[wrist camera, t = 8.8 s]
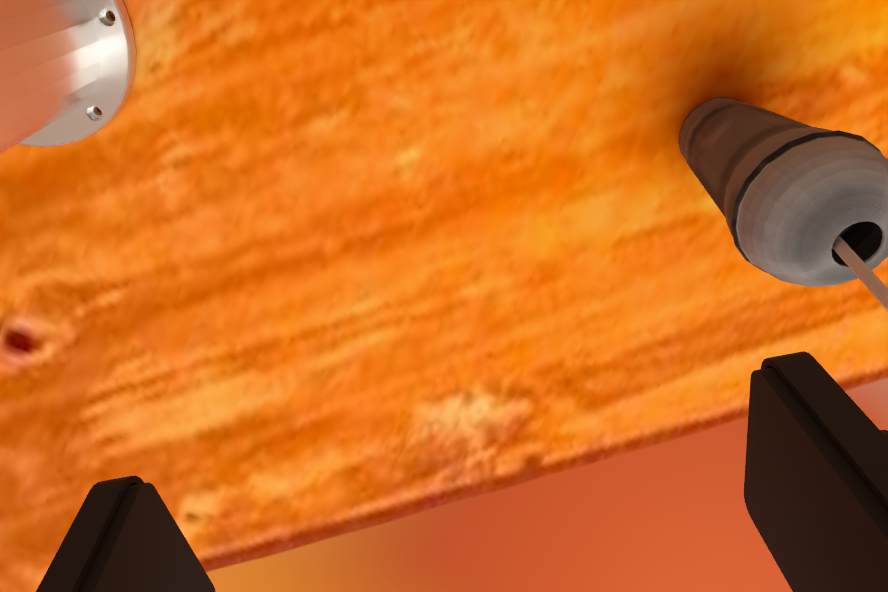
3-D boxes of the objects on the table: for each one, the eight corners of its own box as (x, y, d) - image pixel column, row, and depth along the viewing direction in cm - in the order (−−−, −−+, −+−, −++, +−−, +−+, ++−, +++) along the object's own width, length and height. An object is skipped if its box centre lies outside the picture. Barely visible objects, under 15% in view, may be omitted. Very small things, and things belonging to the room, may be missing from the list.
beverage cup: (774, 174, 42) (1017, 359, 25) (660, 201, 43) (821, 398, 26) (776, 59, 39) (1062, 183, 21) (652, 90, 39) (831, 234, 22)
